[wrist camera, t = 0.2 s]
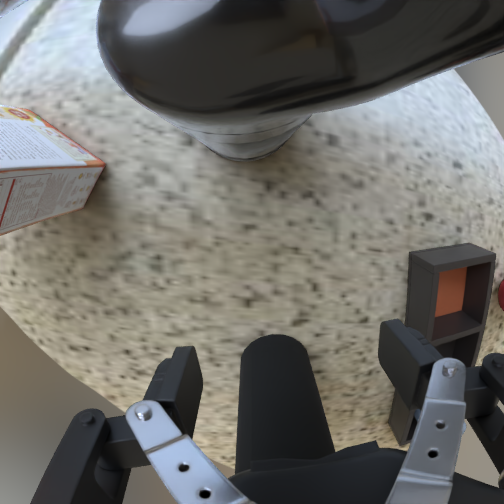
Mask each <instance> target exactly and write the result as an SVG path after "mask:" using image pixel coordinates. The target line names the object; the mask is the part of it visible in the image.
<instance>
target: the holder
mask: <svg viewBox="0 0 504 504" xmlns="http://www.w3.org/2000/svg"><path fill="white" fill-rule="evenodd" d="M495 260H496V253H494V252H491V251H489V250H486V249H484V248H481V247H479V246H476V245H474V244H471V243H465V244H459V245H452V246H446V247H439V248H433V249H426V250H419V251H412V252H409V276H408V294H407V307H406V318H405V326H406V327H411V328H413V329H415V330H417V331H419V332H420V333H421V334H422V335H423V336H424V337H425V339H427V340H428V341H429V343H431V344H432V345H433V346H434V348H435V349H436V350H437V351H438V352H439V353H440V354H441V355H442V356H443V357H444V358H454V359H457V360H459V361H461V362H462V363H463V364H464V365H465V366H466V367H475V364H476V360H477V357H478V353H479V350H480V346H481V342H482V338H483V334H484V329H485V325H486V324H485V323H486V320H487V315H488V310H489V304H490V298H491V292H492V286H493V278H494V270H495ZM414 413H415V410H414V411H411V412H409V411H408V409H407V407H406V406H405V404H404V402H403V401H402V399H401V397H400V396H399V394H398V392H397V391H396V389H395V394H394V399H393V403H392V408H391V413H390V417H389V421H388V423H389V425H390V427H391V429H392V431H393V434H394V436H395V438H396V440H397V442H398V444H399V446H402V445H405V444H408V443H411V440H412V438H413V435H414V432H415V429H416V426H417V423H418V422H417V421H416V419H415V417H414Z"/></svg>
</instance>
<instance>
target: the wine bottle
mask: <svg viewBox="0 0 504 504" xmlns="http://www.w3.org/2000/svg"><path fill="white" fill-rule="evenodd" d="M332 453H335V449H334V445H333V442H332V438H331V434H330V431H329V427H328V423H327V420H326V416H325V413H324V409H323V405H322V402H321V398H320V395H319V391H318V388H317V384H316V381H315V377H314V374H313V371H312V367H311V364H310V360H309V357H308V354H307V350H306V349H305V348H304V346H303V345H302V343H300V342H299V341H297V340H296V339H294V338H292V337H289V336H286V335H274V334H272V335H268V336H264V337H260V338H259V339H257V340H255V341H253V342H251V343H250V345H249V346H248V347H247V348H246V349H245V350H244V352H243V354H242V357H241V367H240V386H239V405H238V424H237V444H236V464H235V474H237V473H240V472H243V471H246V470H250V469H251V461H256V460H268V459H278V458H288V459H307V460H316V459H320V458H322V457H325V456H327V455H330V454H332Z"/></svg>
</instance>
